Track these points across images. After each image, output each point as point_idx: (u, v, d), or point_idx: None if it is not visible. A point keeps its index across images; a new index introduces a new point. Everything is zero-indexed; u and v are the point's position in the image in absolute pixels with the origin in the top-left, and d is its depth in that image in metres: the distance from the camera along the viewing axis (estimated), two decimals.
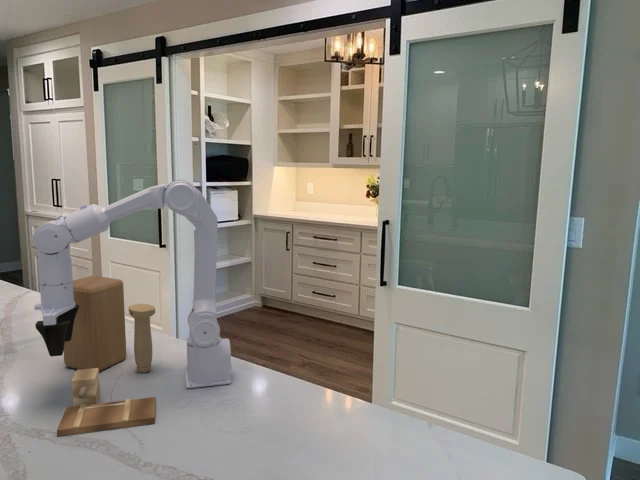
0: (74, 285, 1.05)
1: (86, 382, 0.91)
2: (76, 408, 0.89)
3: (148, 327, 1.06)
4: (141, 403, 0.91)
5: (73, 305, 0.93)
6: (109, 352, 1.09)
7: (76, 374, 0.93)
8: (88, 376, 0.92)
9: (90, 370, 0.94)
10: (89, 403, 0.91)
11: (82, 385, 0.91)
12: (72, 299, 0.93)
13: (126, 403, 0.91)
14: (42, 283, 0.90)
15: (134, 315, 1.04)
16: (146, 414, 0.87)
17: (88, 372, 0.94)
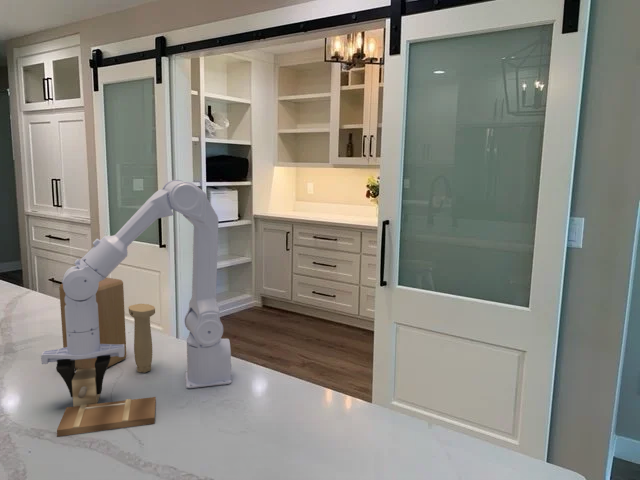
0: None
1: (86, 382, 0.91)
2: (76, 408, 0.89)
3: (148, 327, 1.06)
4: (141, 403, 0.91)
5: (76, 356, 0.89)
6: None
7: (76, 374, 0.93)
8: (88, 376, 0.92)
9: (90, 370, 0.94)
10: (89, 403, 0.91)
11: (82, 385, 0.91)
12: (77, 350, 0.89)
13: (126, 403, 0.91)
14: (71, 330, 0.88)
15: (134, 315, 1.04)
16: (146, 414, 0.87)
17: (88, 372, 0.94)
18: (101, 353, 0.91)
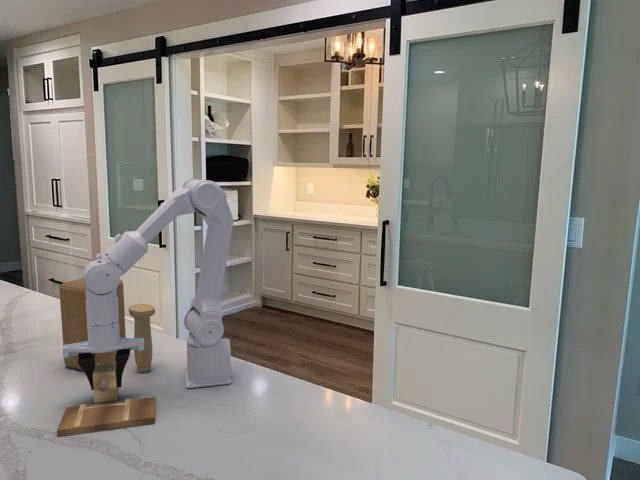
0: (74, 285, 1.05)
1: (107, 375, 0.92)
2: (76, 408, 0.89)
3: (148, 327, 1.06)
4: (141, 403, 0.91)
5: (97, 350, 0.90)
6: (109, 352, 1.09)
7: (96, 367, 0.94)
8: (108, 369, 0.93)
9: (110, 363, 0.95)
10: (109, 396, 0.92)
11: (103, 378, 0.92)
12: (98, 344, 0.90)
13: (126, 403, 0.91)
14: (93, 324, 0.89)
15: (134, 315, 1.04)
16: (146, 414, 0.87)
17: (108, 365, 0.95)
18: (121, 346, 0.92)
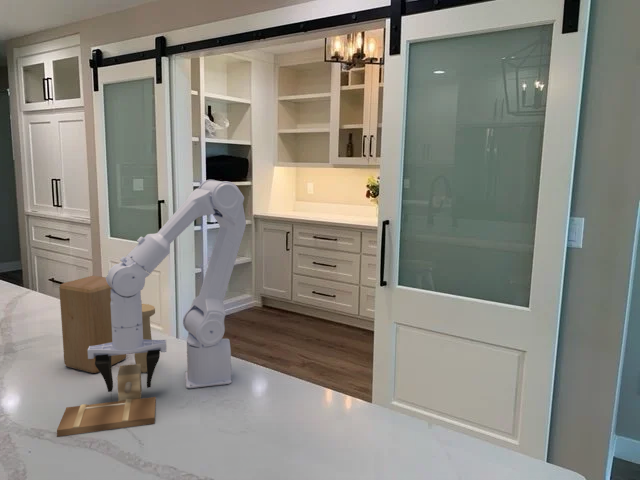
0: (74, 285, 1.05)
1: (131, 377, 0.93)
2: (76, 408, 0.89)
3: (148, 327, 1.06)
4: (141, 403, 0.91)
5: (122, 351, 0.91)
6: None
7: (120, 370, 0.95)
8: (132, 372, 0.94)
9: (133, 366, 0.97)
10: (133, 398, 0.94)
11: (127, 380, 0.93)
12: (123, 345, 0.91)
13: (126, 403, 0.91)
14: (118, 326, 0.91)
15: None
16: (146, 414, 0.87)
17: (131, 368, 0.96)
18: (145, 348, 0.93)
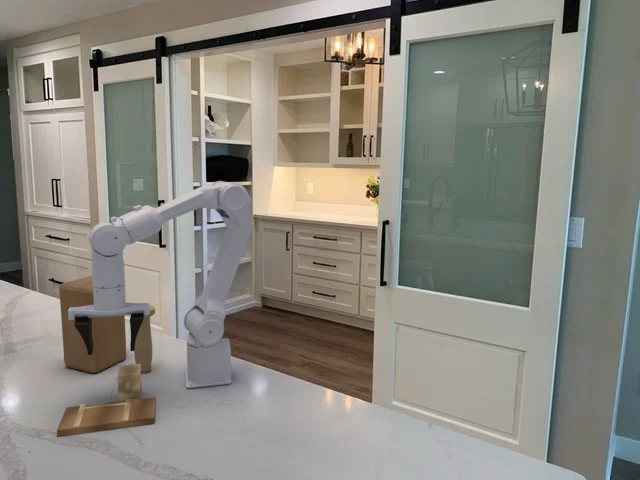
0: (74, 285, 1.05)
1: (131, 377, 0.93)
2: (76, 408, 0.89)
3: (148, 327, 1.06)
4: (141, 403, 0.91)
5: (103, 312, 0.89)
6: (109, 352, 1.09)
7: (120, 370, 0.95)
8: (132, 372, 0.94)
9: (133, 366, 0.97)
10: (133, 398, 0.94)
11: (127, 380, 0.93)
12: (104, 306, 0.89)
13: (126, 403, 0.91)
14: (99, 286, 0.89)
15: None
16: (146, 414, 0.87)
17: (131, 368, 0.96)
18: (127, 310, 0.92)
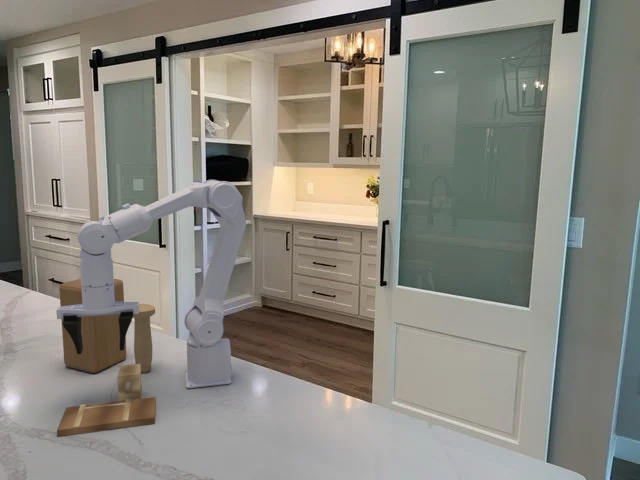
0: (74, 285, 1.05)
1: (131, 377, 0.93)
2: (76, 408, 0.89)
3: (148, 327, 1.06)
4: (141, 403, 0.91)
5: (92, 311, 0.89)
6: (109, 352, 1.09)
7: (120, 370, 0.95)
8: (132, 372, 0.94)
9: (133, 366, 0.97)
10: (133, 398, 0.94)
11: (127, 380, 0.93)
12: (93, 305, 0.89)
13: (126, 403, 0.91)
14: (87, 285, 0.88)
15: (134, 315, 1.04)
16: (146, 414, 0.87)
17: (131, 368, 0.96)
18: (116, 309, 0.91)
